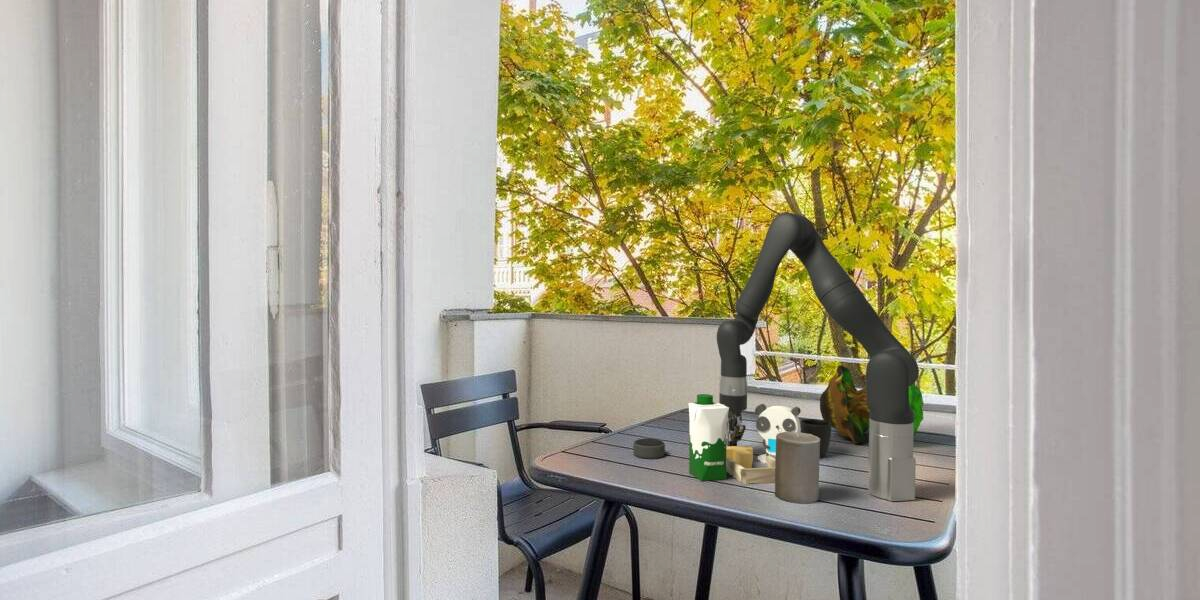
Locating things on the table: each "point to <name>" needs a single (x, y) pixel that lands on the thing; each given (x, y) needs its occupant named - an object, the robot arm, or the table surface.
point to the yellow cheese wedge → (740, 455)
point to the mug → (818, 432)
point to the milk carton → (707, 438)
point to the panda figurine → (775, 425)
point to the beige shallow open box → (752, 472)
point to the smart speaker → (649, 448)
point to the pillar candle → (797, 467)
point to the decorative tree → (856, 406)
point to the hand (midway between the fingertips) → (732, 453)
